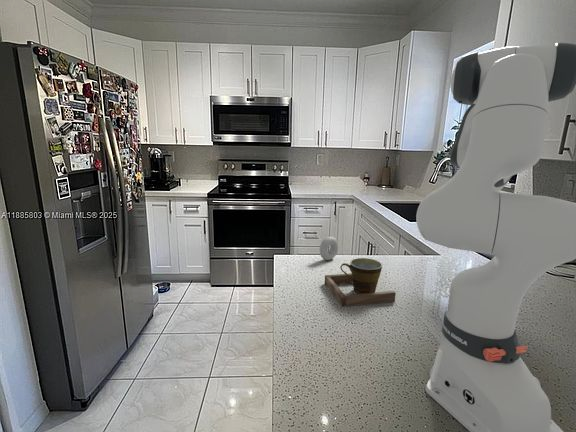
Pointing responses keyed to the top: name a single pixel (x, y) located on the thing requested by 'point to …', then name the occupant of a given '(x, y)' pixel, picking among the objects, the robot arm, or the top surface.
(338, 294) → the wooden u-shaped frame
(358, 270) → the ceramic cup
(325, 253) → the donut
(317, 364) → the top surface
